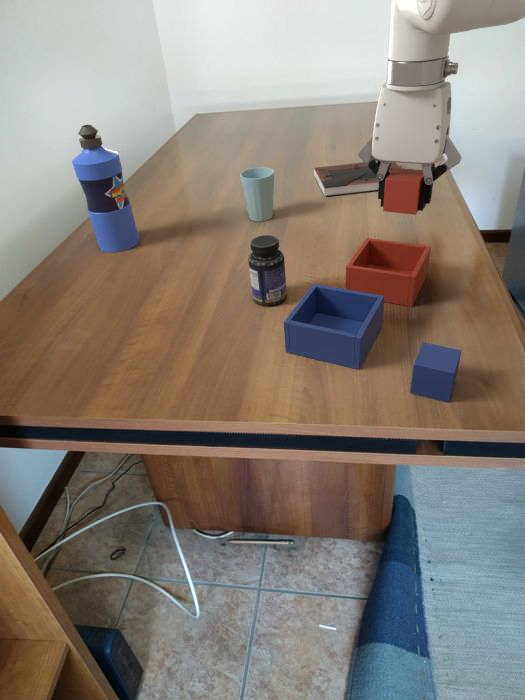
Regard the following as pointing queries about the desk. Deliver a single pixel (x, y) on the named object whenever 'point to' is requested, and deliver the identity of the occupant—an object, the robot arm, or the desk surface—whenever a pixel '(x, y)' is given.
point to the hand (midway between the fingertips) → (403, 204)
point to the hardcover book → (347, 178)
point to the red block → (402, 191)
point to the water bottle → (105, 193)
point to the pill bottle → (267, 271)
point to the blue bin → (334, 325)
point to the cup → (259, 192)
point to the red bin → (389, 270)
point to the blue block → (435, 371)
